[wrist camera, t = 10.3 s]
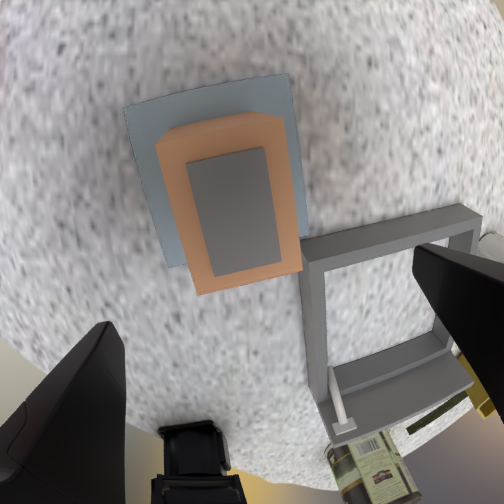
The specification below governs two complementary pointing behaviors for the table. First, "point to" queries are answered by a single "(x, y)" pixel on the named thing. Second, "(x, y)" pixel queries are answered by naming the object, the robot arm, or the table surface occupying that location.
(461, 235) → the grey open frame
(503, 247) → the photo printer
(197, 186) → the block
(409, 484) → the coffee can
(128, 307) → the table surface
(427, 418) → the rod
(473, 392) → the flower pot
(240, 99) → the mat
